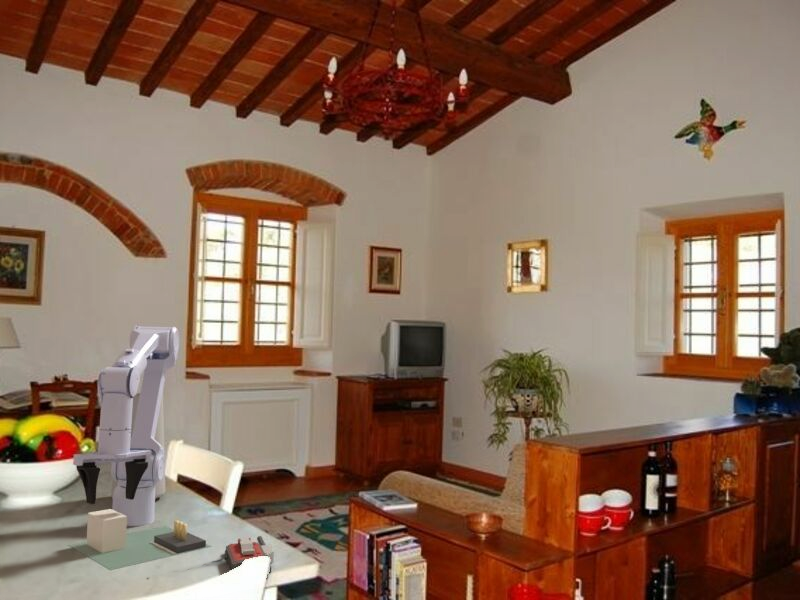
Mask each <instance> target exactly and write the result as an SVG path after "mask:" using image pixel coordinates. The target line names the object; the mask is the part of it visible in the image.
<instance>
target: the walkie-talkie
mask: <svg viewBox="0 0 800 600" xmlns="http://www.w3.org/2000/svg"><path fill="white" fill-rule="evenodd" d="M237 539H238V540H237V543H230V544H228V545H226V546H225V550H224V556H225V563H226V566H227V568H228V571H229V570H232V569H234V568H236V567H238V566H240V565H241V564H242V562H243V561H244V560H245V559H249V558H253V557H258V556H268V557H270V559H271V563H270V564H272V563H273V562H274V555H275V553H274V552H275V551H274V549H273V546H272V544H266V543H265V541H264V539H263V537H262V536H261V535H259V536H257V537H256V540H257V542H255V541H252V539H251V537H242V538H241V537H240V538H237ZM270 574H272V567H271V566H270V572H269V574H268V575H270Z"/></svg>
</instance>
